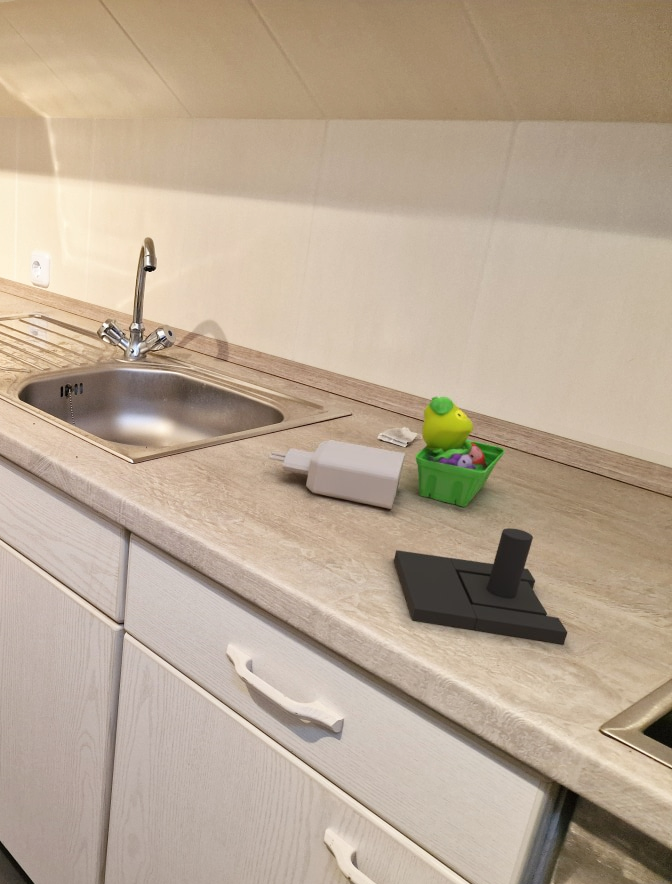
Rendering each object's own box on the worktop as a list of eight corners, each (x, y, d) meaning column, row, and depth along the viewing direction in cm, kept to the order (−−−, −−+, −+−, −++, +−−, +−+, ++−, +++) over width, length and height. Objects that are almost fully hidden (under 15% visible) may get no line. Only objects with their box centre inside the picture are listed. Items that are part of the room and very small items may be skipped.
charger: (275, 462, 110) (398, 486, 104) (258, 485, 102) (390, 512, 96) (280, 427, 108) (406, 450, 102) (264, 447, 101) (399, 473, 95)
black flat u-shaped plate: (524, 579, 82) (528, 568, 82) (563, 644, 71) (568, 632, 71) (393, 560, 85) (396, 549, 84) (412, 620, 74) (415, 608, 74)
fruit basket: (473, 514, 97) (498, 419, 93) (394, 493, 102) (414, 402, 98) (496, 487, 105) (520, 399, 101) (422, 469, 110) (441, 384, 106)
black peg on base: (524, 593, 80) (544, 525, 77) (543, 625, 74) (566, 553, 72) (456, 582, 81) (473, 516, 78) (469, 613, 76) (488, 542, 73)
